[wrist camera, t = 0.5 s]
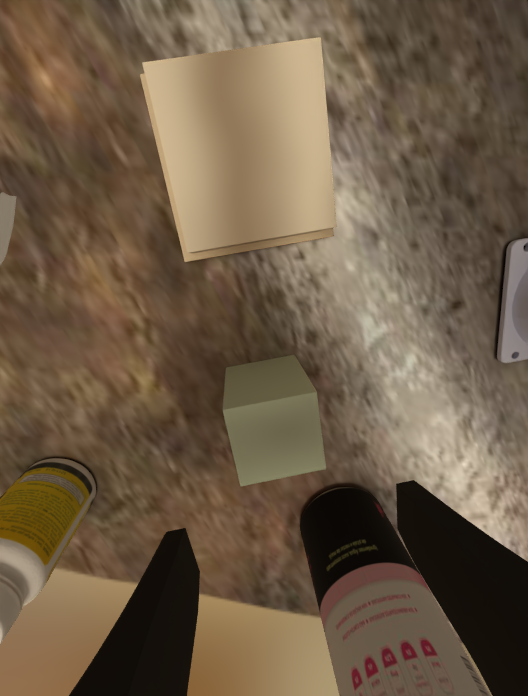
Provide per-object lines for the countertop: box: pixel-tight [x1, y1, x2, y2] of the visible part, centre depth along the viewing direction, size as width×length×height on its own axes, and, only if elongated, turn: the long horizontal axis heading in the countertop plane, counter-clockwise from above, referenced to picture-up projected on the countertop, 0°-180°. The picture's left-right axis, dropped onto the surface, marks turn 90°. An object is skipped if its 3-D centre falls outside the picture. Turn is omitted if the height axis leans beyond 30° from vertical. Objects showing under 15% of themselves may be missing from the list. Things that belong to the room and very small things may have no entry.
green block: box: [223, 355, 326, 486], centre depth 17 cm, size 4×4×6 cm
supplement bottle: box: [0, 458, 96, 644], centre depth 16 cm, size 5×5×8 cm
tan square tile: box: [143, 37, 337, 253], centre depth 13 cm, size 7×7×2 cm
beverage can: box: [300, 487, 491, 696], centre depth 16 cm, size 6×6×15 cm
